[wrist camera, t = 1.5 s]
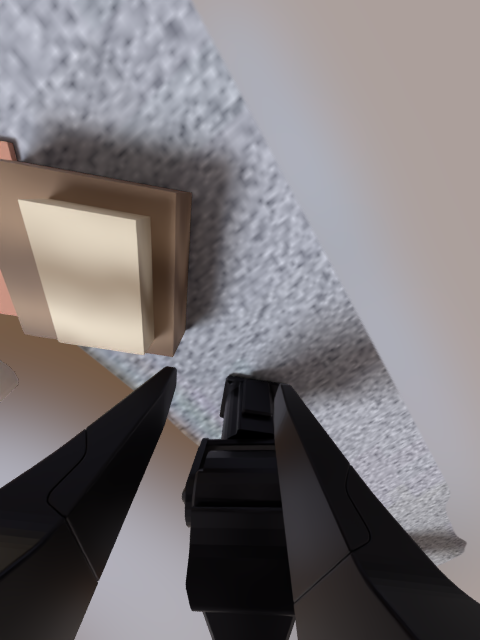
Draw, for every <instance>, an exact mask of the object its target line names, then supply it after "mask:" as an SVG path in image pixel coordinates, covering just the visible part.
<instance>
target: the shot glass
mask: <svg viewBox="0 0 480 640" xmlns="http://www.w3.org/2000/svg"><path fill="white" fill-rule="evenodd" d="M17 386H18V377H17V375H16V373H15V372H14V371H13V370H12V369H11V368H10V367H9V366H8V365H7V364H5V363H4V362H2V361H0V403H1V401H3V399H5V398H6V397H7V396H8V395H9V394H10V393H11V392H12V391H13V390H14V389H15V388H16V387H17Z"/></svg>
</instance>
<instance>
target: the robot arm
mask: <svg viewBox="0 0 480 640" xmlns="http://www.w3.org/2000/svg"><path fill="white" fill-rule="evenodd" d="M176 379H177V369H176V368H175V367H168V366H166V367H164V368H163V369H162V370H160V371H159V372H158V373H157V374H155V375H154V376H153V377H151V378H150V379H149V380H147V381H146V382H145V383H144V384H142V385H141V386H140V387H138V388H137V389H136V390H135V391H133V392H132V393H131V394H129V395H128V396H127V397H126V398H124V399H123V400H122V401H120V402H119V403H118V404H117V405H115V406H114V407H113V408H111V409H110V410H109V411H107V412H106V413H105V414H104V415H102V416H101V417H100V418H98V419H97V420H96V421H95V422H93V423H92V424H91V425H90V426H88V427H87V428H86V429H84V430H83V431H82V432H80V433H79V434H78V435H76V436H75V437H74V438H72V439H71V440H70V441H68V442H67V443H66V444H64V445H63V446H62V447H60V448H59V449H58V450H56V451H55V452H53V453H52V454H51V455H49V456H48V457H46V458H45V459H43V460H42V461H40V462H39V463H37V464H36V465H35V466H33V467H32V468H31V469H29V470H27V471H26V472H24V473H23V474H21V475H20V476H18V477H17V478H15V479H14V480H12V481H11V482H9V483H8V484H6V485H5V486H3V487H2V488H0V640H74V639H75V636H76V634H77V632H78V629H79V627H80V625H81V622H82V620H83V617H84V615H85V613H86V610H87V608H88V605H89V603H90V601H91V598H92V596H93V594H94V591H95V589H96V586H97V584H98V582H97V581H99V579H100V577H101V575H102V572H103V570H104V568H105V565H106V563H107V560H108V558H109V556H110V553H111V551H112V549H113V546H114V544H115V542H116V539H117V537H118V534H119V532H120V530H121V527H122V525H123V522H124V520H125V518H126V515H127V513H128V511H129V508H130V506H131V504H132V501H133V499H134V497H135V494H136V492H137V490H138V487H139V485H140V482H141V480H142V478H143V475H144V473H145V470H146V468H147V466H148V463H149V461H150V458H151V456H152V454H153V452H154V449H155V447H156V445H157V442H158V440H159V437H160V435H161V433H162V430H163V427H164V425H165V422H166V419H167V415H168V412H169V409H170V405H171V402H172V398H173V395H174V392H175V388H176ZM230 380H231V381H230ZM220 417H222V418H224V421H223V429H222V437H221V439H209V438H203V439H202V441H201V444H200V446H199V448H198V451H197V453H196V456H195V459H194V462H193V465H192V468H191V471H190V474H189V477H188V480H187V482H186V487H185V488H184V490H183V493H182V500H183V502H184V504H185V520H186V525H187V526H188V527H191V530H190V548H189V559H188V568H187V577H186V590H187V595H188V599H189V604H190V608H191V610H192V611H199V612H201V611H202V612H203V614H204V617H205V620H206V623H207V626H208V628H209V631H210V634H211V637H212V640H289V637H290V634H291V631H292V628H293V625H294V622H295V619H296V627H297V636H298V640H480V604H479V603H478V602H476V601H475V600H473V599H472V598H471V597H469V596H468V595H467V594H466V593H464V592H463V591H462V590H461V589H459V588H458V587H457V586H456V585H455V584H454V583H453V582H452V581H451V580H449V579H448V578H447V577H446V576H445V575H444V574H443V573H442V572H441V571H440V570H439V569H438V568H437V566H436V565H435V564H434V563H433V562H432V561H431V560H430V559H429V557H428V556H427V555H426V554H425V553H424V552H423V551H422V549H421V548H420V547H419V546H418V545H417V544H416V543H415V541H414V540H413V539H412V538H411V537H410V536H409V535H408V533H407V532H406V531H405V530H404V529H403V528H402V527H401V525H400V524H399V523H398V522H397V521H396V520H395V518H394V517H393V516H392V515H391V514H390V513H389V512H388V510H387V509H386V508H385V507H384V506H383V504H382V503H381V502H380V501H379V500H378V499H377V497H376V496H375V495H374V494H373V493H372V491H371V490H370V489H369V487H368V486H367V485H366V484H365V482H364V481H363V480H362V479H361V477H360V476H359V475H358V473H357V472H356V471H355V469H354V468H353V467H352V466H351V465H350V463H349V462H348V460H347V459H346V458H345V456H344V455H343V454H342V452H341V451H340V450H339V448H338V447H337V446H336V444H335V443H334V442H333V440H332V439H331V438H330V437H329V435H328V434H327V433H326V431H325V430H324V429H323V427H322V426H321V425H320V423H319V422H318V421H317V419H316V418H315V417H314V415H313V414H312V413H311V411H310V410H309V409H308V407H307V406H306V405H305V403H304V402H303V401H302V400H301V398H300V397H299V396H298V394H297V393H296V392H295V390H294V389H293V388H292V386H291V385H289V384H282V383H281V384H280V383H273V382H266V381H260V380H253V379H246V378H240V377H233V376H228V377H227V378H226V382H225V387H224V393H223V399H222V404H221V410H220Z"/></svg>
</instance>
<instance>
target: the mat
mask: <svg viewBox="0 0 480 640" xmlns="http://www.w3.org/2000/svg"><path fill="white" fill-rule="evenodd" d="M0 159H5V160H13V161H17V158H16V155H15V151H14V147H13V144H12V143H9V142H4V141H0ZM0 313H1V314H9V315H15V316H17V313H16V310H15V308H14V305H13V302H12V300H11V297H10V294H9V292H8V289H7V286H6V283H5V281H4V278H3V275H2V273H1V270H0Z"/></svg>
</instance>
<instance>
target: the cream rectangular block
mask: <svg viewBox="0 0 480 640" xmlns="http://www.w3.org/2000/svg"><path fill="white" fill-rule="evenodd" d="M18 203H19V206H20V210H21V213H22V217H23V220H24V223H25V227H26V230H27V234H28V237H29V241H30V244H31V248H32V251H33V255H34V258H35V262H36V265H37V269H38V272H39V276H40V279H41V283H42V286H43V290H44V293H45V297H46V300H47V303H48V307H49V310H50V314H51V317H52V321H53V324H54V328H55V331H56V335H57V338H58V342H61V343H68V344H74V345H81V346H87V347H94V348H101V349H107V350H114V351H120V352H127V353H134V354H140V355H144V354H145V353H146V351H147V350H148V348H149V347H150V345H151V344H152V342H153V341H154V311H153V279H152V248H151V217H149V216H144V215H138V214H132V213H127V212H121V211H115V210H110V209H104V208H98V207H93V206H87V205H82V204H76V203H70V202H65V201H59V200H53V199H18Z"/></svg>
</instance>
